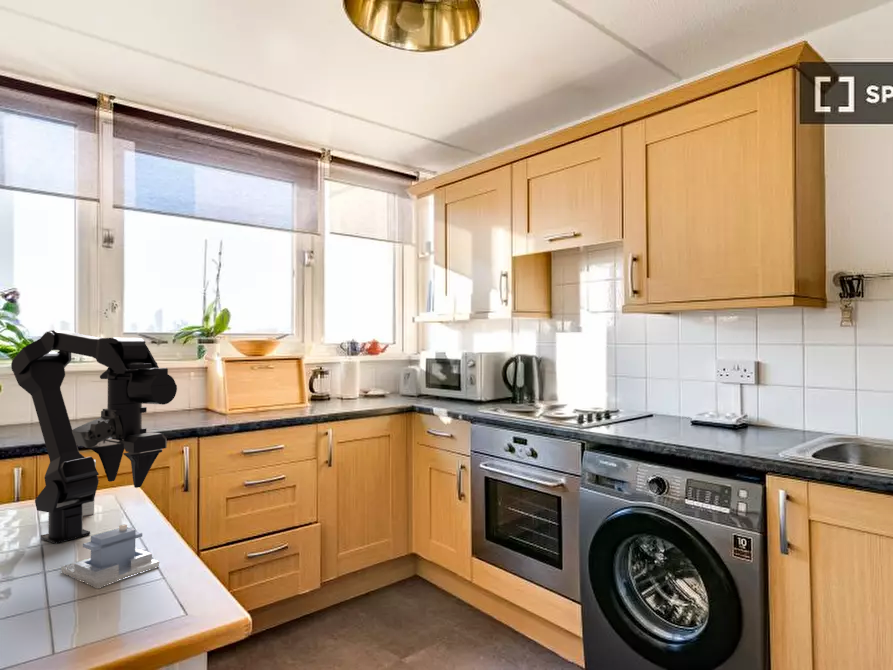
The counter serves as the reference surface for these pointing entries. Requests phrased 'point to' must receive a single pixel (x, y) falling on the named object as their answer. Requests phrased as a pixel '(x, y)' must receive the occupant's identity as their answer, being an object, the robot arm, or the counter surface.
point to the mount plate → (110, 569)
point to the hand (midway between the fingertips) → (124, 484)
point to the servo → (113, 546)
